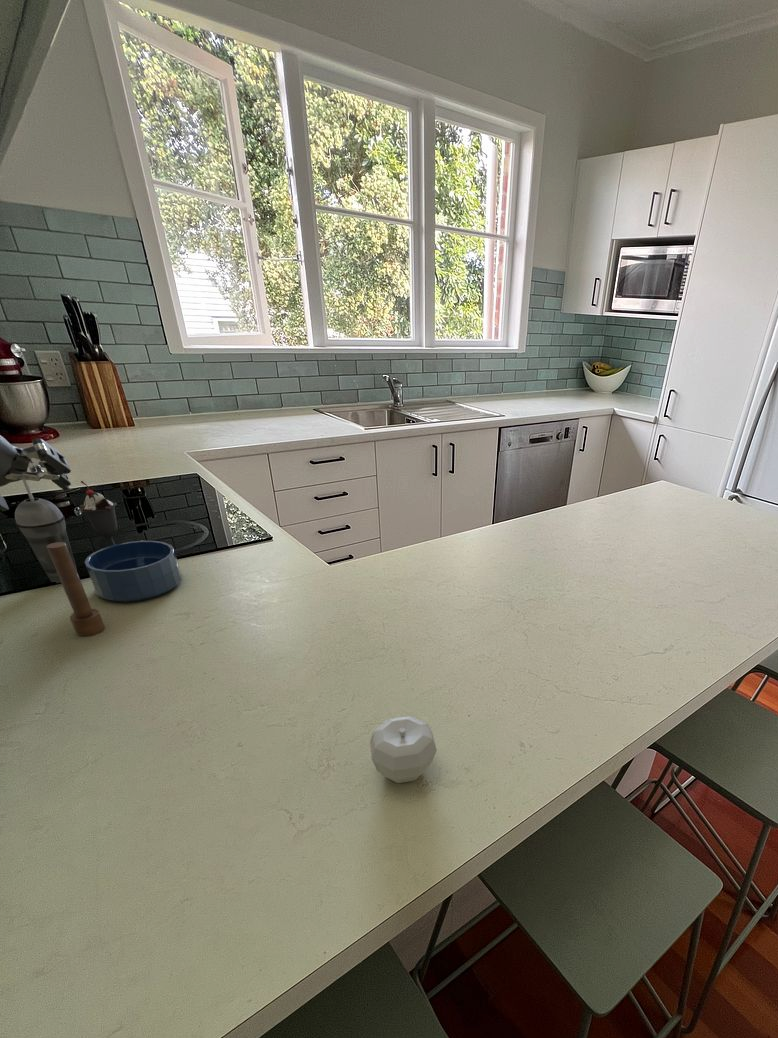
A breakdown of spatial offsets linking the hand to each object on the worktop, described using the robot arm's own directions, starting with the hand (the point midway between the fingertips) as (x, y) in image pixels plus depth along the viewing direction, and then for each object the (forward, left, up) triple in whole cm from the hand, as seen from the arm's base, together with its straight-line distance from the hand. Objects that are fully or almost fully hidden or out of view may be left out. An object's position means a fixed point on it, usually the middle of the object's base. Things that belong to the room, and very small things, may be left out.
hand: (35, 494), depth 81 cm
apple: (+56, -38, -22) cm, 71 cm away
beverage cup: (-12, +16, -22) cm, 30 cm away
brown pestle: (+3, -4, -21) cm, 22 cm away
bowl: (+4, +12, -21) cm, 25 cm away
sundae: (-9, +29, -22) cm, 37 cm away
